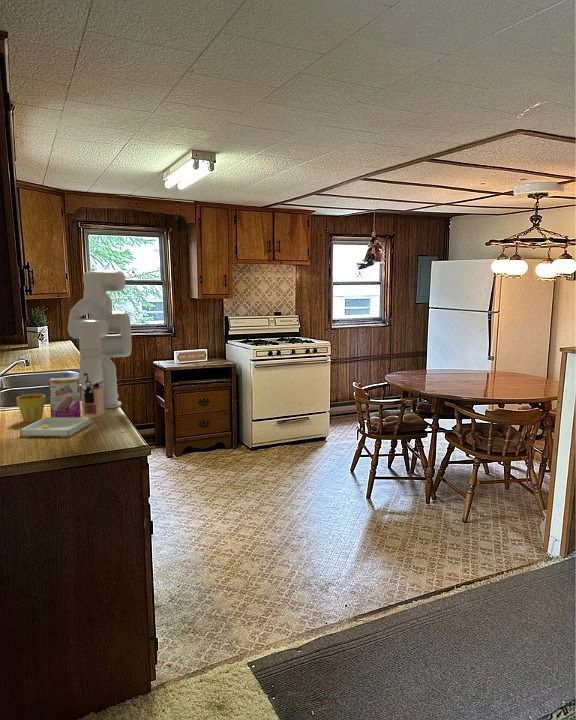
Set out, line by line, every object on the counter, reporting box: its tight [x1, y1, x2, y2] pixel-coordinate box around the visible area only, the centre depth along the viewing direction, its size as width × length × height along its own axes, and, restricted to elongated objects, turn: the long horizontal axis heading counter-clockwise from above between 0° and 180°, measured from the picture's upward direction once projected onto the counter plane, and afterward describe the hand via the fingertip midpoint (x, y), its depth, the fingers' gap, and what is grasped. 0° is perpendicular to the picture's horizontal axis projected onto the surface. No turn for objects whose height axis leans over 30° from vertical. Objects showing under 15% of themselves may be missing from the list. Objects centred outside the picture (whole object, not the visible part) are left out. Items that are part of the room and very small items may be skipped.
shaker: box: [80, 386, 106, 417], centre depth 194 cm, size 6×6×10 cm
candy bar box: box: [48, 377, 82, 418], centre depth 211 cm, size 11×5×16 cm, turn 108°
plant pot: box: [16, 393, 47, 423], centre depth 208 cm, size 10×10×10 cm
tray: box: [19, 416, 92, 438], centre depth 194 cm, size 18×18×2 cm
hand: (93, 400), depth 194 cm, fingers closed on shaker, 6 cm apart
